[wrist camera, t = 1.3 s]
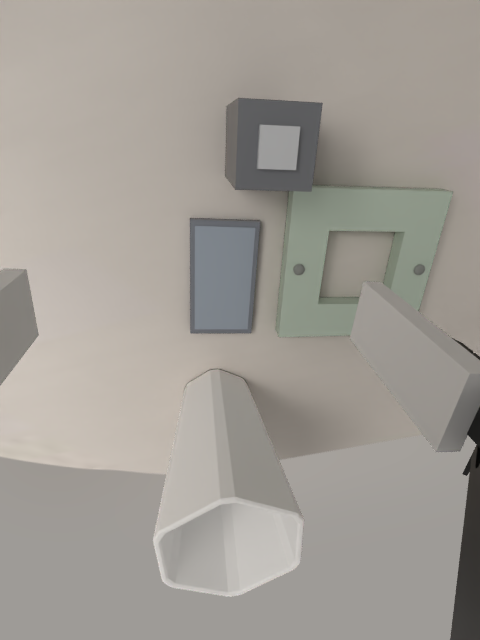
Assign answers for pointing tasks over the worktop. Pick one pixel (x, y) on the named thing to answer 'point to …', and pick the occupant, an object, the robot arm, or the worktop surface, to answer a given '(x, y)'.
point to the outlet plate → (354, 215)
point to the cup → (225, 495)
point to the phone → (222, 274)
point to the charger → (271, 144)
